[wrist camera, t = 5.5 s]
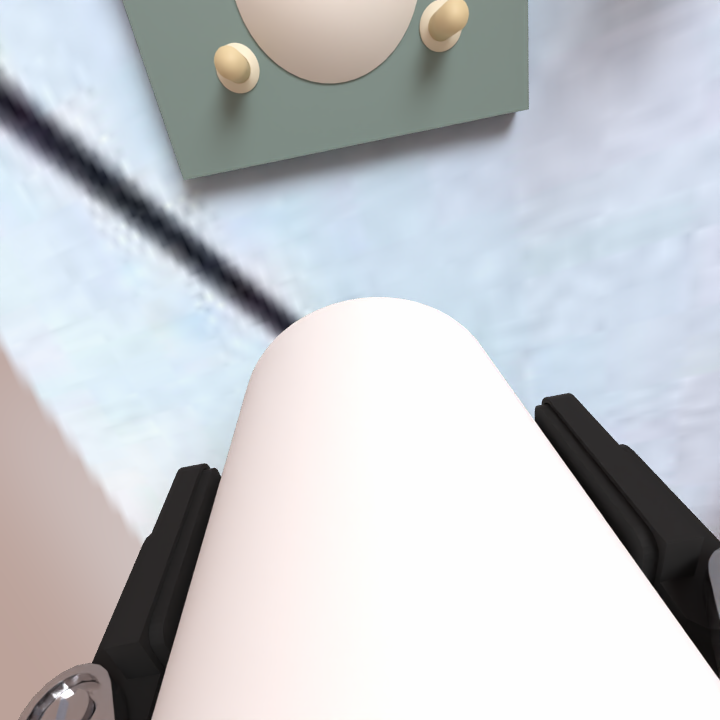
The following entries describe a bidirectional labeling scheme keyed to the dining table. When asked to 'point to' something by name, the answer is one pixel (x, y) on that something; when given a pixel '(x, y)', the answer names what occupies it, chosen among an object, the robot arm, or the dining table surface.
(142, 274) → the dining table surface
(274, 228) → the dining table surface
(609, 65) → the dining table surface
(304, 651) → the can
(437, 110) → the pin board
